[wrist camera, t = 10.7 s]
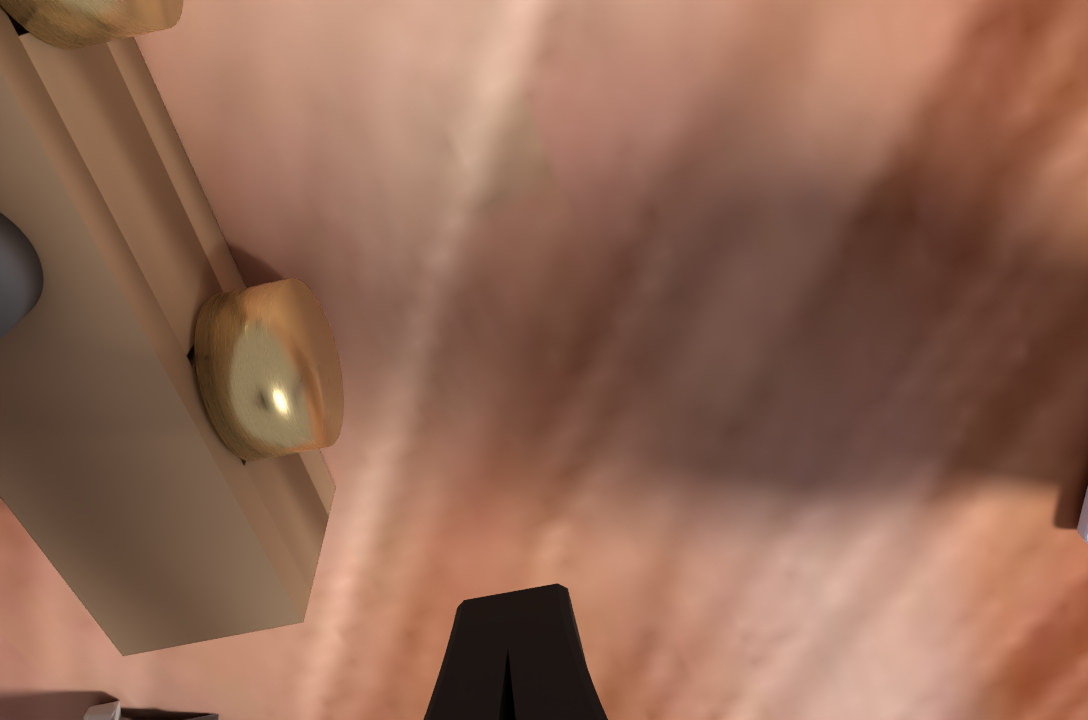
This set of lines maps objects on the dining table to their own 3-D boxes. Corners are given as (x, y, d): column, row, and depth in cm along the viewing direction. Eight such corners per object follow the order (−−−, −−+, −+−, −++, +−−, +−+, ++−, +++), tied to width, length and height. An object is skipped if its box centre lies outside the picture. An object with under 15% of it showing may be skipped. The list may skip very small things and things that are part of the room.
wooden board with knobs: (-106, -496, 10) (-551, -783, 6) (335, 487, 20) (293, 662, 15) (-381, -426, 11) (-1015, -651, 6) (187, 515, 20) (103, 698, 16)
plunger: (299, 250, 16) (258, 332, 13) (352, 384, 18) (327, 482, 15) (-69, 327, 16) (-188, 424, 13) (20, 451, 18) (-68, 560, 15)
